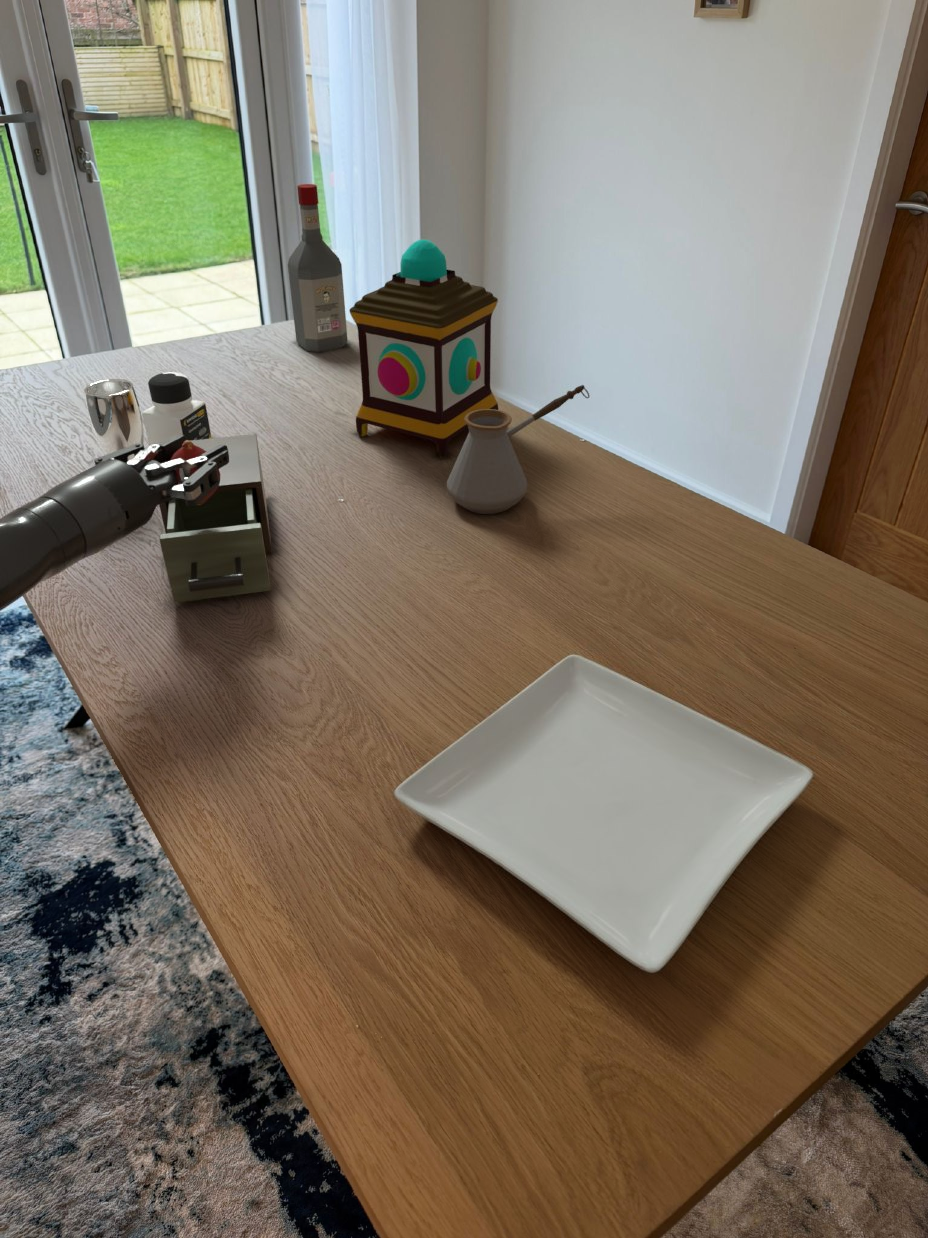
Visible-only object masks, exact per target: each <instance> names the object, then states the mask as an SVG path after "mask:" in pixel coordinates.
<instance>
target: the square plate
mask: <svg viewBox="0 0 928 1238" xmlns="http://www.w3.org/2000/svg"><path fill="white" fill-rule="evenodd" d="M813 777H814V772H813V771H812V769H810V768H809V767H808V766H807V765H804V764H803V763H801V762H799V761H797V760H795V759H793V758H791V757H789V756H787V755H785V754H783V753H781V752H779V751H777V750H775V749H773V748H771V747H769V746H766V745H765V744H763V743H761V742H759V741H757V740H755V739H753V738H751V737H749V736H746V735H745V734H743V733H741V732H739V731H737V730H735V729H732V728H731V727H729V726H728V725H725V724H723V723H720V722H719V721H717V720H715V719H713V718H710V717H709V716H706V715H705V714H702V713H700V712H698V711H696V710H695V709H693V708H691V707H688V706H685V705H684V704H682V703H680V702H678V701H676V700H674V699H671V698H669V697H668V696H666V695H663V694H661V693H659V692H658V691H656V690H653V689H651V688H649V687H647V686H645V685H643V684H640V683H638V682H637V681H635V680H632V679H631V678H628V677H626V675H623V674H621V673H618V672H616V671H614V670H612V669H610V668H608V667H606V666H604V665H601V664H600V663H598V662H595V661H593V660H591V659H588V658H586V657H584V656H582V655H579V654H573V653H572V654H569V655H567V656H566V657H564V658H563V659H561V660H560V661H558V662H557V663H556V664H555V665H553V666H552V667H550V668H549V669H548V670H547V671H545V672H544V673H543V674H542V675H540V676H539V677H538V678H536V679H535V680H533V682H531V683H530V684H529V685H527V686H526V687H524V688H523V689H522V690H521V691H520V692H519V693H517V694H516V695H515V696H513V697H512V698H511V699H509V700H507V702H505V703H504V704H503V705H502V706H500V707H499V708H498V709H496V710H495V711H494V712H493V713H491V714H489V715H488V716H487V717H486V718H485V719H484V720H482V721H480V722H479V723H478V724H476V725H475V726H474V727H473V728H471V729H470V730H469V731H467V732H466V733H465V734H464V735H461V737H459V738H458V739H457V740H456V741H454V742H453V743H452V744H450V745H449V746H447V747H446V748H445V749H444V750H443V751H441V752H440V753H438V754H436V756H435V757H433V758H432V759H430V760H429V761H428V762H426V763H425V764H424V765H423V766H421V767H420V768H419V769H418V770H416V771H415V772H414V773H412V774H411V775H410V776H408V777H407V778H406V779H405V780H404V781H402V782H401V783H400V784H399V785H397V787H396V788H395V789H394V791H393V796H394V797H395V799H396V800H397V801H398V802H400V804H402V805H403V806H405V807H406V808H408V809H409V810H410V811H412V812H413V813H415V814H416V815H418V816H420V817H421V818H423V819H425V820H426V821H428V822H429V823H431V824H433V825H435V826H436V827H438V828H439V829H442V830H443V831H444V832H446V833H447V834H449V835H451V836H453V837H455V838H456V839H457V840H459V841H461V842H463V843H464V844H465V845H467V846H469V847H470V848H472V849H474V850H475V851H476V852H478V853H480V854H482V855H484V856H485V857H486V858H487V859H488V860H491V861H492V862H494V863H495V864H496V865H498V866H500V867H501V868H503V869H504V870H505V871H507V873H510V874H511V876H514V877H515V878H516V879H518V880H519V881H521V882H522V883H524V884H525V885H527V886H528V887H529V888H530V889H532V890H533V891H534V892H536V893H538V894H539V896H541V897H542V898H544V899H546V900H547V901H548V902H549V903H551V904H552V905H553V906H555V908H557V909H558V910H560V911H561V912H562V913H564V914H565V915H567V917H569V918H570V919H571V920H573V921H574V922H575V923H577V924H578V925H579V926H581V927H582V928H584V929H585V931H587V932H589V933H590V934H591V935H592V936H594V937H595V938H596V939H598V940H599V941H600V942H601V943H603V944H604V945H606V946H607V947H608V948H610V949H611V950H612V951H614V952H615V953H616V954H618V955H619V956H620V957H622V958H623V959H625V960H626V961H627V962H629V963H630V964H632V965H633V966H635V967H637V968H639V969H640V970H643V972H644V971H645V972H647V973H651V974H654V973H657V972H659V971H661V970H662V969H663V968H664V967H665V966H666V965H667V964H668V962H670V960H671V959H672V958H673V956H674V955H675V954H676V952H677V951H678V950H679V948H680V947H681V946H682V945H683V944H684V942H685V940H686V939H687V938H688V936H689V934H690V933H691V932H692V930H693V929H694V927H695V926H696V924H697V923H698V922H699V920H700V919H701V917H702V916H703V914H704V913H705V911H707V909H708V907H709V906H710V904H711V903H712V902H713V900H714V899H715V897H716V896H717V894H718V893H719V892H720V890H721V889H722V887H723V886H724V885H725V883H726V882H727V881H728V879H730V877H731V876H732V874H733V873H734V871H736V869H737V867H738V866H739V865H740V864H741V862H742V861H743V860H744V858H745V857H746V856H747V855H748V853H749V852H750V851H751V850H752V849H753V848H754V846H755V845H756V844H757V843H758V842H759V840H760V839H761V838H762V837H763V836H764V835H765V833H766V832H768V830H769V829H770V828H771V827H772V826H773V825H774V824H775V822H776V821H777V820H778V819H779V818H780V817H781V816H782V815H783V814H784V812H785V811H787V809H788V808H789V807H790V806H791V805H792V804H793V803H794V802H795V801H796V800H797V799H798V798H799V797H800V796H801V795H802V793H803V792H804V791H805V790H806V789H807V788H808V786H809V784H810V783H811V781H812V780H813Z"/></svg>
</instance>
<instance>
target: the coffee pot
mask: <svg viewBox="0 0 928 1238" xmlns="http://www.w3.org/2000/svg"><path fill="white" fill-rule="evenodd" d="M583 390H584V391H585V393H586V394H587V395H585V393H584V392H583ZM580 393H581V395H582V396H583V397H584V398H585V399H589V398H590V393H589V391H588V389H586V387H585V385H584V384H581V385H579V386H577V387H575V388H574V389H573V390H568V391H567V392H566V394H564V395H562V396H560V397H558V398H554V399H553V400H552V401H550V402H549V403H547V404H546V405H545V406H543V407H542V408H540V409H539V410H537V411H536V412H535V413H532V415H531V416H529V417H528V418H526V419H524V420H522V421H521V422H518V424H516V425H514V426H512V427H511V428H509V429H508V427H509V425H511V423H512V417H511V415H510V414H509V413H507V412H506V411H503V410H500V409H498V410H495V409H481V410H475V411H472V412H470V413H468V414H467V415H466V416H465V418H464V421H465V423H466V424H467V425H468V428H467V429H468V433H467V436H466V438H465V441H464V442H463V444H462V447H461V450H460V451H459V453H458V456H457V458H456V460H455V463H454V465H453V468H452V469H451V472H450V474H449V476H448V478H447V480H446V489H447V491H448V494H449V495H450V497H451V498H452V499H453V500H454V501H455V502H456V504H458V505H459V506H461V507H463V508H464V509H465V510H466V511H469V512H473V513H476V514H484V515H493V514H498V513H502V512H505V511H507V510H508V509H510V508H512V507H513V506H515V505H516V504H517V503H519V502H520V501H521V500H522V499H523V498H524V496H525V494H526V493H527V489H528V482H527V481H528V480H527V478H526V475H525V473H524V471H523V468H522V466H521V464H520V461H519V459H518V456H517V454H516V452H515V449H514V447H513V444H512V442H511V440H510V438H511V437H512V436H513V435H515V434H517V433H518V432H519V431H521V430H523V429H524V428H525V427H527V426H529V425H530V424H531V423H533V422H536V421H537V420H539V419H541V418H543V417H544V416H546V415H548V414H550V413H552V412H555V410H558V409H559V408H560V407H561V406H562V405H564V404H565V403H566V402H567V401H568V400H573V399H574V398H575V396H576V395H577V394H580Z"/></svg>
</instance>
